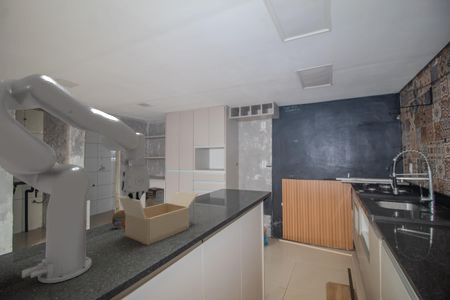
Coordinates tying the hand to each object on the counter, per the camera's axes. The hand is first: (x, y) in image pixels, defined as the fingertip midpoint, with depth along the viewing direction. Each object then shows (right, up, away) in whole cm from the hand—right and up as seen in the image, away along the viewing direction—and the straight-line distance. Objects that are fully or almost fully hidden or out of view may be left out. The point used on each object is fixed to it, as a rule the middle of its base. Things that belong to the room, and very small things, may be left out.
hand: (135, 208), depth 82 cm
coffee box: (-3, -14, +31) cm, 35 cm away
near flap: (-1, +1, -1) cm, 1 cm away
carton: (+6, -13, +9) cm, 17 cm away
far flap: (+15, -1, +21) cm, 25 cm away
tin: (-11, -14, +17) cm, 25 cm away
